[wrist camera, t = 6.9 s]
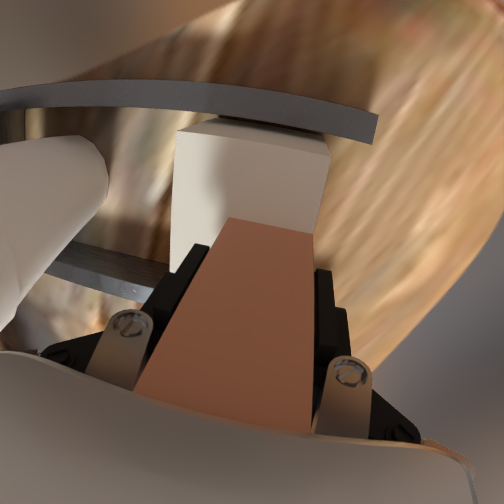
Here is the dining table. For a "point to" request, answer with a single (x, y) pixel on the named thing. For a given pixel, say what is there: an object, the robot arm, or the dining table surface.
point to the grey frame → (174, 98)
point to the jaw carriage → (243, 274)
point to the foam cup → (43, 207)
